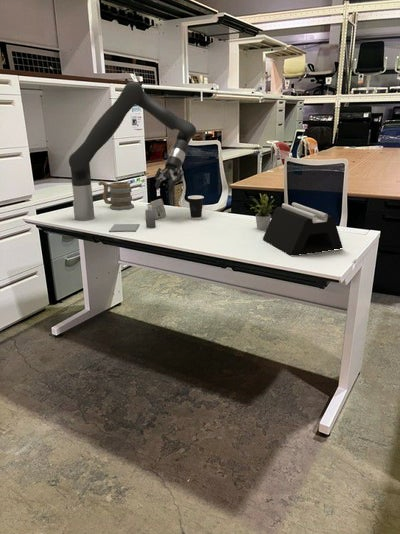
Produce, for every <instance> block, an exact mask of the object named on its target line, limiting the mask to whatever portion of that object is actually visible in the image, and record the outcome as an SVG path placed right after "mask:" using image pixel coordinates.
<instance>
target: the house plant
mask: <svg viewBox="0 0 400 534" xmlns="http://www.w3.org/2000/svg"><path fill="white" fill-rule="evenodd" d="M267 195H268V193H264V194H263V195H262V194H261V193H259V197H260V198H259V199H260V203H261V204H260V203H259V201H258V200H257V199H256V198H255V197H254V196H251V195H250V198H251V197H252V198H251V200H252V201H253V202H254V203H256V206H255V207H254V206H253V205H251V206H252V207H250V210H251V209H254V212H258V213H256V214H255V221H256V222H255V223H256V229H257V230H259V231H260V230H261V231H266V230H267V228H268V225H269V223H270V221H271V218H272V215H271V214H270V213H271V212H274V211H275V209H272V207H273V205H272V204H273V203H274V200H272V201H271V202H270V203H269V205H268V202H269V196H267ZM257 207H258V208H257Z"/></svg>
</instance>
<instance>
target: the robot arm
mask: <svg viewBox="0 0 400 534" xmlns="http://www.w3.org/2000/svg"><path fill="white" fill-rule="evenodd" d="M135 106H137V107H139V108H141V109H142V110H144V111H146V112H147V113H148V114H149V115H151V116H152V117H153V118H155V119H156V120H157V121H158V122H160V124H163V125H164V126H165V127H167V128H168V129H169V130H171V131H174V130H178V132H177V136H176V139H175V143H174V145H173V147H172V149H171V151H170V152H169V155H168V156H167V159H166V161H165V164H164V168H163V169H162V168H160V167H159V168H158V169H157V171H156V172H155V175H154V180H156V181H155V183H154V187H155V188H156V189H159V188H160V185H161V184H162V182H163V181H165V180H166V179H172V180H171V183H170V184H169V187H168V188H169V189H170V190H171V191H172V190H174V189H175V188H176V187H175V186H176V184H178V183H181V182H182V179H183V176H184V173H185V172H184V170H182V169H181V168H182V165H183V163H184V161H185V158H186V155H187V153H188V150H189V143H190V141H192V139H193V138H194V137H195V136H196V134H197V129H196V126H195V125H194V124H193V123H192V122H190V121H188V120H186V119H184V118H182V117H179V116H177V115H176V114H175V113H174V112H172V111H171V110H169V109H168V108H167V107H165V106H163V104H160V103H158V102H157V101H156V100H154V99H153V98H152V97H151V96H149V95H148V94H147V93H146V91H144V88H143V86H142V84H141V83H139V82H137V81H130V82H128V83H126V84H125V86H124V87H123V89H122V91H121V92H120V94H119V96H118V97H117V99H116V100H115V101H114V103H113V104H112V105H111V106H110V107H109V108H108V109H107V110H106V111H105V112H104V113H103V114H102V116H101V117H100V118H99V119H98V120H97V122H96V123H95V124H94V125H93V127H92V129H91V130H90V131H89V133H88V134H87V136H86V138H85V140H84V141H83V143H82V144H80V146H79V147H78V148H76V150H75V151H74V152H73V153H71V154H70V155H69V158H68V165H69V168H70V172H71V186H72V187H71V188H72V195H73V201H72V205H73V215H74V220H77V221H89V220H93V219H95V217H96V216H95V208H94V199H93V189H92V179H91V178H92V175H91V166H90V165H91V164H90V163H91V161H92V160H93V158H94V156H95V155H96V154H97V153H98V152H99V150H100V149H101V148H102V147H103V146H104V145H106V143H107V142H108V141H109V140H110V139H111V138H112V137H113V136H114V134H115V133H116V132H117V130H118V129H119V128H120V127H121V124H122V123H123V122H124V119H125V118H126V116H127V114H129V112H130V111H131V109H133V107H135Z"/></svg>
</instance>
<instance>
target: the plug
mask: <svg viewBox="0 0 400 534" xmlns="http://www.w3.org/2000/svg"><path fill="white" fill-rule="evenodd" d="M146 206H147V209H145V210H144V211H145V226H146V229H155V228H156V226H157V225H156V219H155V210H153V209H152V205H146Z"/></svg>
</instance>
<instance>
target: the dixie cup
mask: <svg viewBox="0 0 400 534" xmlns="http://www.w3.org/2000/svg"><path fill="white" fill-rule="evenodd" d="M204 198H205V197H204V196H203V195H189V196H187V199H188V205H189V211H190V213H189V214H190V219H191V220H193V221H195V220H196V221H197V220H201V219H202V217H203V204H204Z"/></svg>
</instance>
